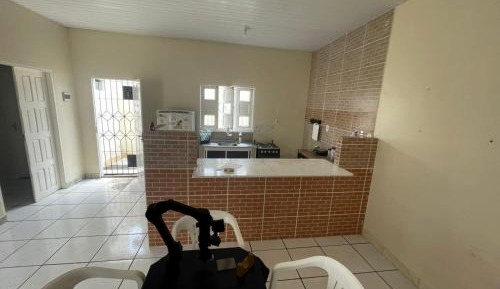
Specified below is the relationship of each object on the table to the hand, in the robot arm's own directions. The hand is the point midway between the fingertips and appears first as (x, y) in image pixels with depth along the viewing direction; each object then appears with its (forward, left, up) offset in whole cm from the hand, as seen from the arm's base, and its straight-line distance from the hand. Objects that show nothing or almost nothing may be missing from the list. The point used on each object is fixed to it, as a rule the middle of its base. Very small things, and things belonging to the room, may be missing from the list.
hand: (204, 260), depth 115 cm
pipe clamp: (+21, -5, -5) cm, 22 cm away
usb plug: (+1, 0, -1) cm, 2 cm away
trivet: (+12, 0, -4) cm, 13 cm away
